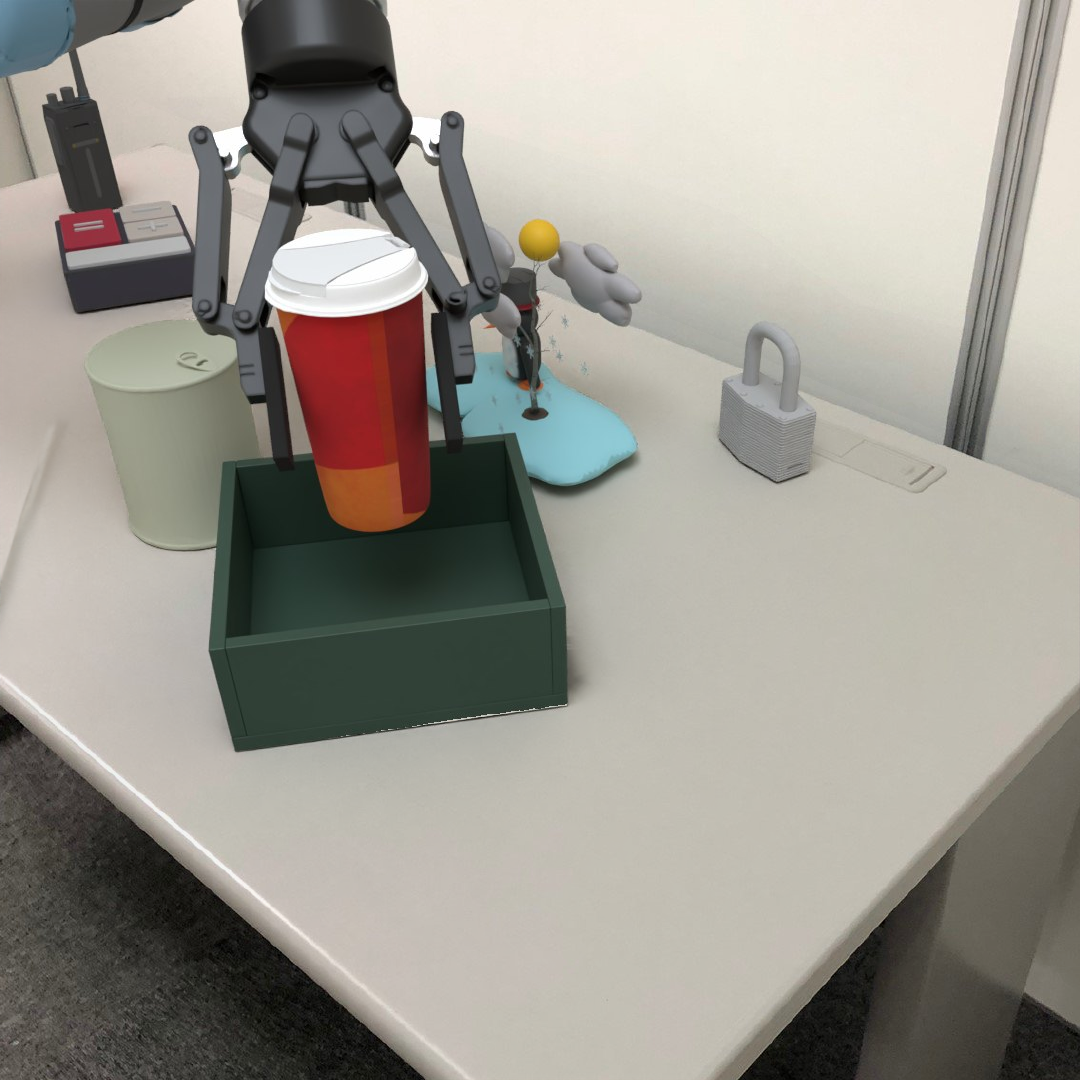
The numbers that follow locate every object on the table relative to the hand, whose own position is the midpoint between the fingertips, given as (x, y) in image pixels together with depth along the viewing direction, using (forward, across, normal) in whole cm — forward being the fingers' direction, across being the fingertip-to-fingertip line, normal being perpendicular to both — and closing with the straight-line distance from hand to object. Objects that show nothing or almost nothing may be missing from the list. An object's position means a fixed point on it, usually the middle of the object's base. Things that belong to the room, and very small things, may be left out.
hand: (370, 455), depth 60 cm
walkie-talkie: (-44, +25, -64) cm, 82 cm away
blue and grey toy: (-7, -11, -27) cm, 30 cm away
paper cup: (+1, 0, -6) cm, 6 cm away
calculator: (-32, +20, -52) cm, 64 cm away
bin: (+7, 0, -12) cm, 14 cm away
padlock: (-2, -27, -22) cm, 35 cm away
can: (-3, +12, -22) cm, 26 cm away
